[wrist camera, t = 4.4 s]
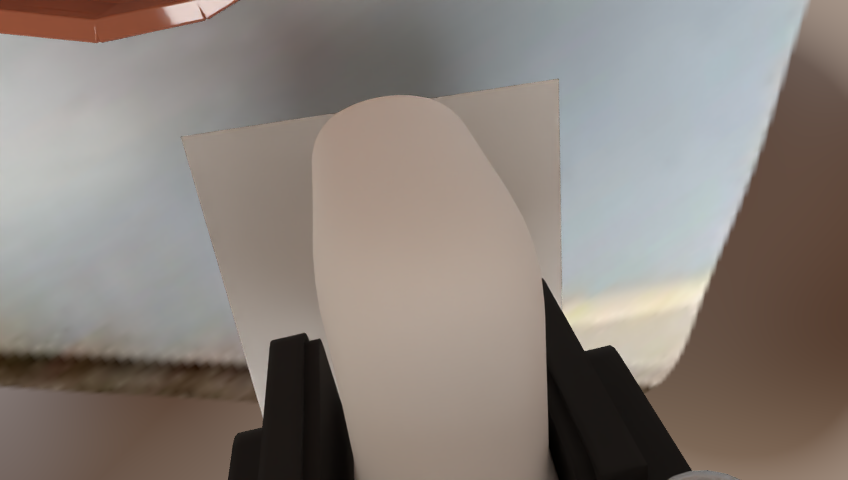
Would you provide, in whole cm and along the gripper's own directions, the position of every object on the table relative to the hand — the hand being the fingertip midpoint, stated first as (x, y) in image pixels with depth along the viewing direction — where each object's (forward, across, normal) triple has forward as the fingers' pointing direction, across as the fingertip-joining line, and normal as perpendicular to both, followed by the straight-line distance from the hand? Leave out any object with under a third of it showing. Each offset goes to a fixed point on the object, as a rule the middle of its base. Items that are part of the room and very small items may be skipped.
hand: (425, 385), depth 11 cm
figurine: (+8, 0, 0) cm, 8 cm away
